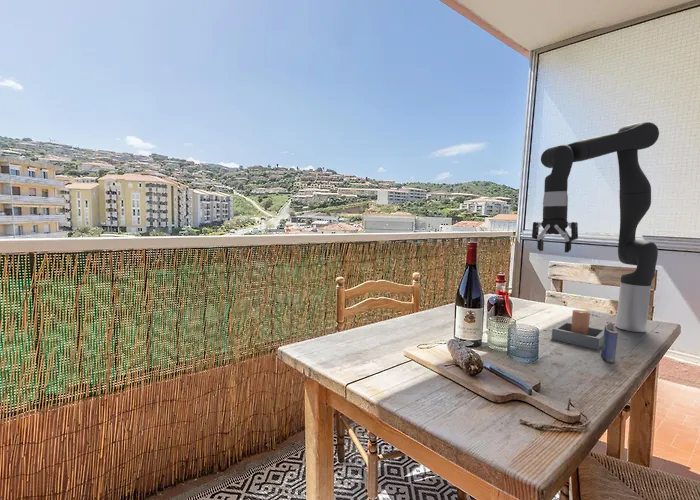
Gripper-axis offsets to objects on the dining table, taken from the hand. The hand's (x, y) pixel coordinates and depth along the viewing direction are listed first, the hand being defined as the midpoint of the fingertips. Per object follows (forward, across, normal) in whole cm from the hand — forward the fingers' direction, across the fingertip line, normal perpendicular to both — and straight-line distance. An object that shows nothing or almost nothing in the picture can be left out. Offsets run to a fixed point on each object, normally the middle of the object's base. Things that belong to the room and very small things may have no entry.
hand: (553, 251), depth 133 cm
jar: (+28, -10, +2) cm, 30 cm away
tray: (+29, -10, +2) cm, 31 cm away
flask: (+29, -21, +14) cm, 38 cm away
